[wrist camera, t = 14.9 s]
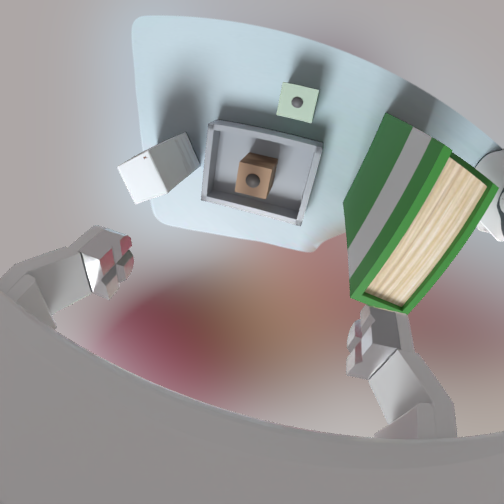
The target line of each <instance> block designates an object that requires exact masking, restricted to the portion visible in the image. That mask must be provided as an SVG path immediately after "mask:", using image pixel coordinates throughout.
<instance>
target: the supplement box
mask: <svg viewBox="0 0 504 504" xmlns="http://www.w3.org/2000/svg"><path fill="white" fill-rule="evenodd" d="M198 167H200V164H199V162H198V159H197V157H196V155H195V152H194V150H193V148H192V145H191V143H190V141H189V138H188V136H187V134H186V132H185V133H182V134H180V135H177V136H175V137H172V138H170V139H168V140H166V141H163V142H161V143H159V144H157V145H155V146H153V147H151V148H149V149H147V150H145V151H143V152H142V153H140V154H138V155H136V156H134V157H132V158H131V159H129V160H127V161H126V162H124V163H123V164H121V165H119V166H118V167H117V168H118V170H119V172H120V175H121V177H122V179H123V181H124V183H125V185H126V187H127V189H128V191H129V193H130V195H131V197H132V199H133V201H134V203H135V204H138V203H141V202H143V201H146V200H149V199H152V198H155V197H158V196H161V195H164V194H167V193H169V192H170V191H171V190H172V189H173V188H174V187H175V186H176V185H178V184H179V183H180V182H181V181H183V180H184V179H185V178H186V177H187V176H189V175H190V174H191V173H192V172H194V171H195V170H196V169H197V168H198Z"/></svg>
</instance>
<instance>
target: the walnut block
mask: <svg viewBox="0 0 504 504" xmlns="http://www.w3.org/2000/svg"><path fill="white" fill-rule="evenodd" d="M277 163H278V159H277V158H272V157H268V156H264V155H260V154H255V153H251V152H249V153H248V154H247V155H246V156H245V157H244V158H243V159H242V160H241V161H240V162H239V167H238V173H237V180H236V187H235V192H238V193H242V194H246V195H250V196H254V197H258V198H262V199H266V198H267V196H268V194H269V192H270V190H271V188H272V186H273V182H274V177H275V173H276V168H277Z"/></svg>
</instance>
